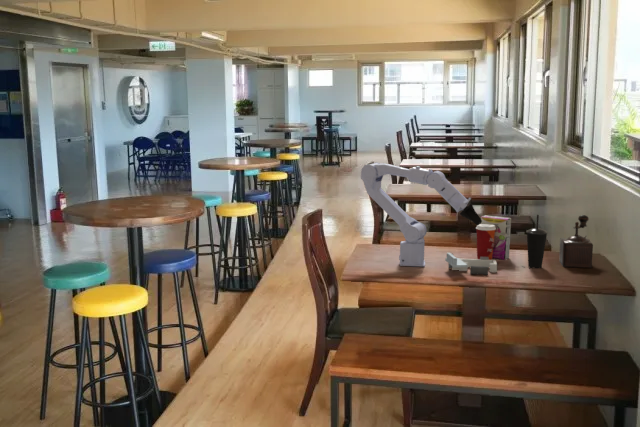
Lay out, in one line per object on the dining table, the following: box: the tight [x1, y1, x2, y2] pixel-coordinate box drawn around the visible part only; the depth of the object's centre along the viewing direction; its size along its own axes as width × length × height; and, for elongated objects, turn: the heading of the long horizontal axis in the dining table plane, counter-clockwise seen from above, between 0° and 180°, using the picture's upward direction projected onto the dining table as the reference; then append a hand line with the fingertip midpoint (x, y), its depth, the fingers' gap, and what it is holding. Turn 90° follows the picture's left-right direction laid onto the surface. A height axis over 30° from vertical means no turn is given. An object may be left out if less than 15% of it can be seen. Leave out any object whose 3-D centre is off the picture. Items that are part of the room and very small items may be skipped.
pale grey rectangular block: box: [447, 252, 498, 273], centre depth 250 cm, size 17×8×6 cm, turn 81°
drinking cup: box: [525, 214, 548, 269], centre depth 251 cm, size 8×8×20 cm
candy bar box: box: [480, 214, 512, 261], centre depth 266 cm, size 11×5×16 cm, turn 56°
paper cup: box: [475, 224, 496, 260], centre depth 262 cm, size 8×8×14 cm
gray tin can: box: [470, 266, 489, 276], centre depth 243 cm, size 6×3×3 cm, turn 81°
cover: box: [444, 252, 468, 268], centre depth 244 cm, size 11×5×3 cm, turn 6°
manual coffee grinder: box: [558, 214, 594, 269], centre depth 257 cm, size 16×11×18 cm
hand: (479, 223), depth 243 cm, fingers open, 7 cm apart
